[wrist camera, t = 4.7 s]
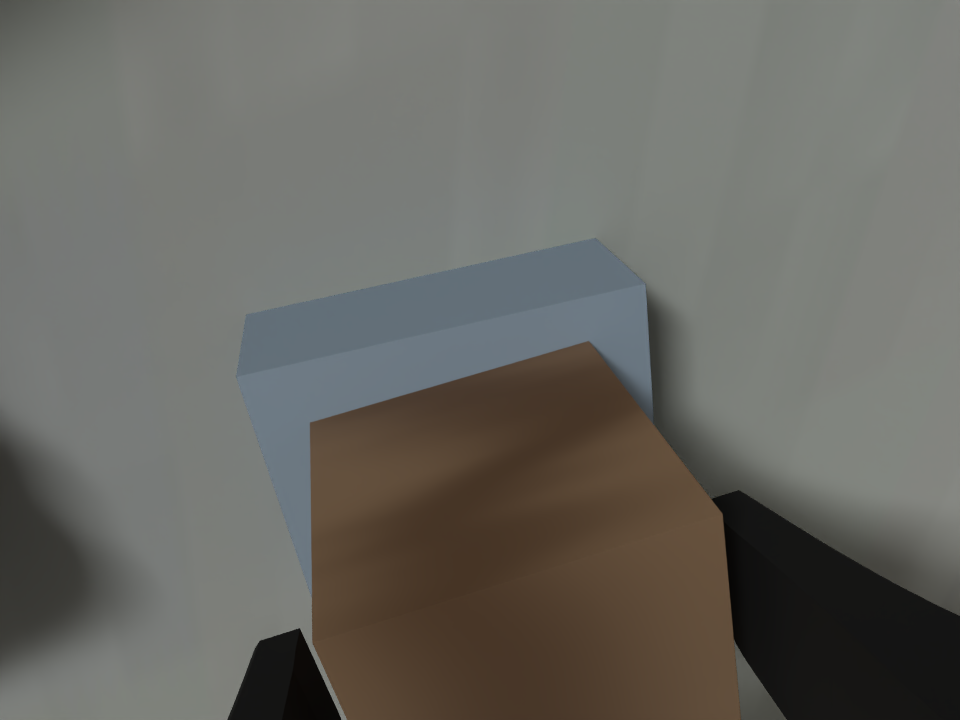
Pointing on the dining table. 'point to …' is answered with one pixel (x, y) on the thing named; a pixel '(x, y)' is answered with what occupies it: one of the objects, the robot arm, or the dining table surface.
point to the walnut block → (517, 555)
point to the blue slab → (429, 347)
